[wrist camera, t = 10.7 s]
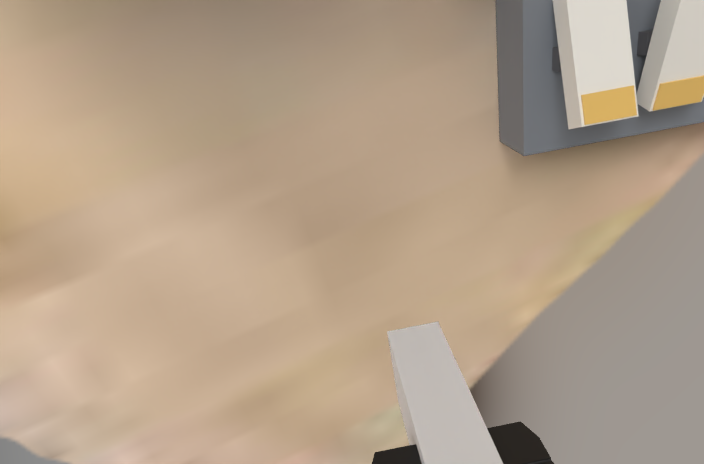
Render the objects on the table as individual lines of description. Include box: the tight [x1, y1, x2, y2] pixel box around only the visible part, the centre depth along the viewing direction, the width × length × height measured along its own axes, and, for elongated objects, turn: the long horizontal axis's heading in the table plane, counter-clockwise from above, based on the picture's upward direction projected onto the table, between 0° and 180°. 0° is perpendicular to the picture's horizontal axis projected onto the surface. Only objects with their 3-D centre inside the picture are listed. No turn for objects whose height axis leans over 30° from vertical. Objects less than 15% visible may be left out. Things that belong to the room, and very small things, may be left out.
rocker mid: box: [636, 0, 704, 112], centre depth 33 cm, size 9×4×2 cm, turn 9°
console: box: [496, 0, 704, 156], centre depth 37 cm, size 14×20×6 cm
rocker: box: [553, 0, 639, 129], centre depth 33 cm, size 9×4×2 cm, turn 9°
